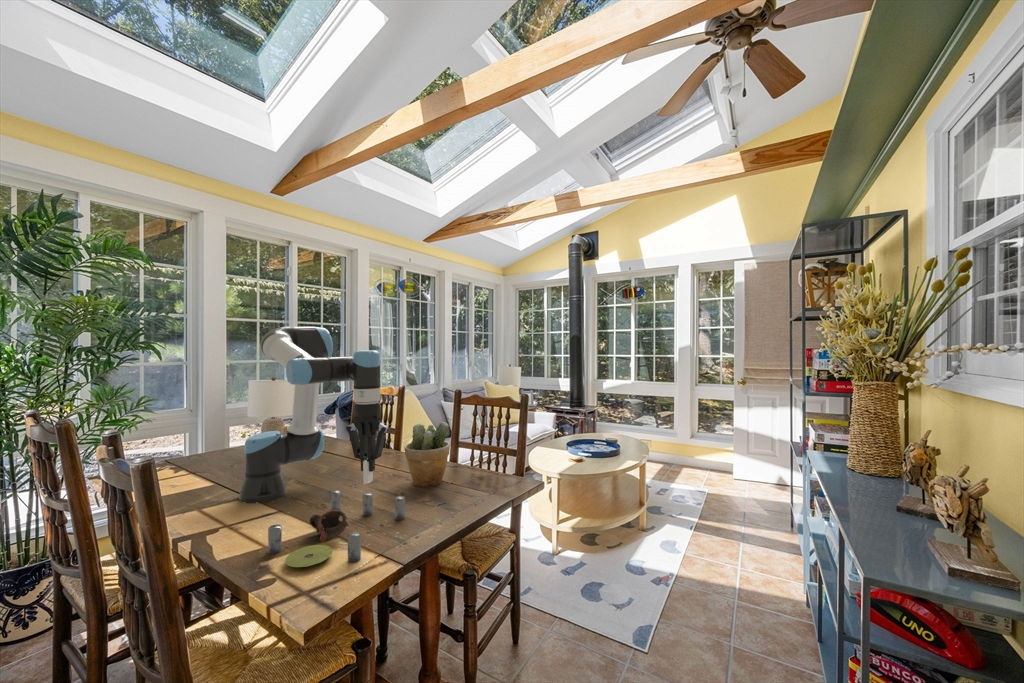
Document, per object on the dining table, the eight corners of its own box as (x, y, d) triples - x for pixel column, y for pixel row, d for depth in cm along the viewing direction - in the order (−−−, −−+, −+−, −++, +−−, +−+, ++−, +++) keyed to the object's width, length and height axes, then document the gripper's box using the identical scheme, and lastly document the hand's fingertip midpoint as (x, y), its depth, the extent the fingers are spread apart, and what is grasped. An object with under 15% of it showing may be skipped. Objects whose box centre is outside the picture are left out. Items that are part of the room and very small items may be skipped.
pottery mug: (354, 527, 129) (354, 509, 125) (339, 555, 120) (338, 536, 117) (317, 518, 129) (316, 500, 125) (299, 545, 121) (297, 526, 117)
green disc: (330, 547, 116) (330, 540, 116) (334, 567, 106) (334, 559, 106) (285, 558, 111) (285, 550, 111) (284, 579, 101) (284, 571, 101)
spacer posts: (265, 555, 112) (265, 529, 112) (334, 510, 142) (334, 489, 142) (356, 565, 107) (356, 538, 107) (408, 516, 137) (407, 495, 137)
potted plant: (404, 493, 158) (404, 427, 158) (404, 477, 176) (403, 418, 176) (453, 488, 163) (452, 424, 163) (447, 473, 181) (447, 416, 181)
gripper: (339, 403, 121) (340, 485, 120) (381, 404, 118) (381, 487, 118) (354, 400, 128) (355, 477, 128) (393, 400, 125) (394, 479, 125)
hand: (368, 482), depth 123 cm, fingers closed
